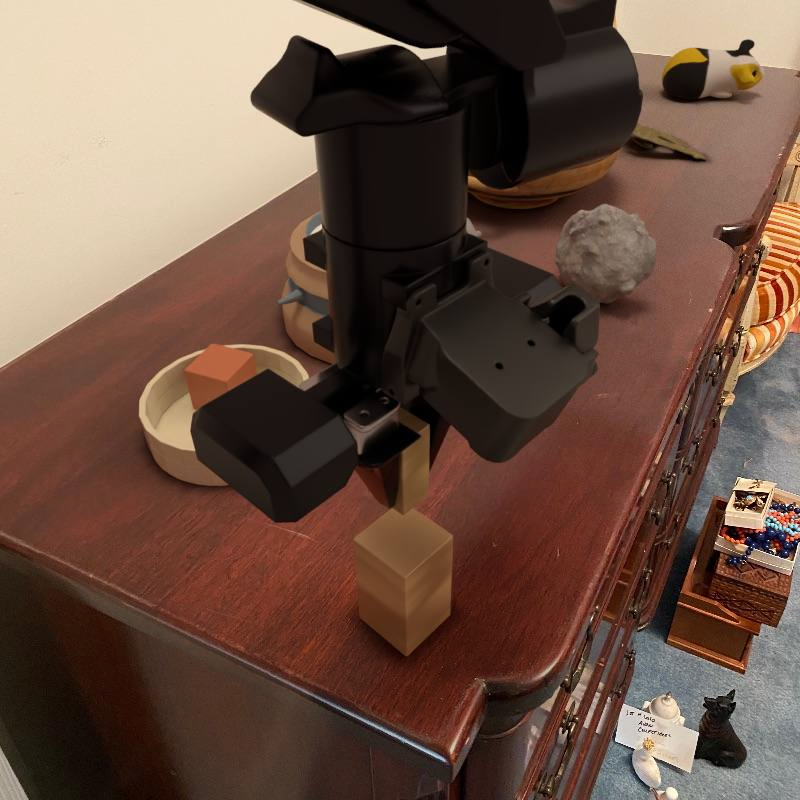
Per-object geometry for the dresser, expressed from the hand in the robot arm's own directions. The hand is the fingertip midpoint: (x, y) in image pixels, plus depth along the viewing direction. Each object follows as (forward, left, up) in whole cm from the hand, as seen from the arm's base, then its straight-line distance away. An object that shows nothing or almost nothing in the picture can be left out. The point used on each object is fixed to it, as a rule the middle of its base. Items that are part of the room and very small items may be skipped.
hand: (400, 491), depth 40 cm
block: (+5, +25, -11) cm, 28 cm away
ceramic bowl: (+54, +32, -11) cm, 64 cm away
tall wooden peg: (0, 0, 0) cm, 0 cm away
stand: (0, 0, -11) cm, 11 cm away
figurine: (+101, +30, -11) cm, 106 cm away
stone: (+39, +11, -11) cm, 42 cm away
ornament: (+77, +26, -11) cm, 82 cm away
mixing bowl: (+4, +22, -11) cm, 25 cm away
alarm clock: (+25, +26, -11) cm, 38 cm away
